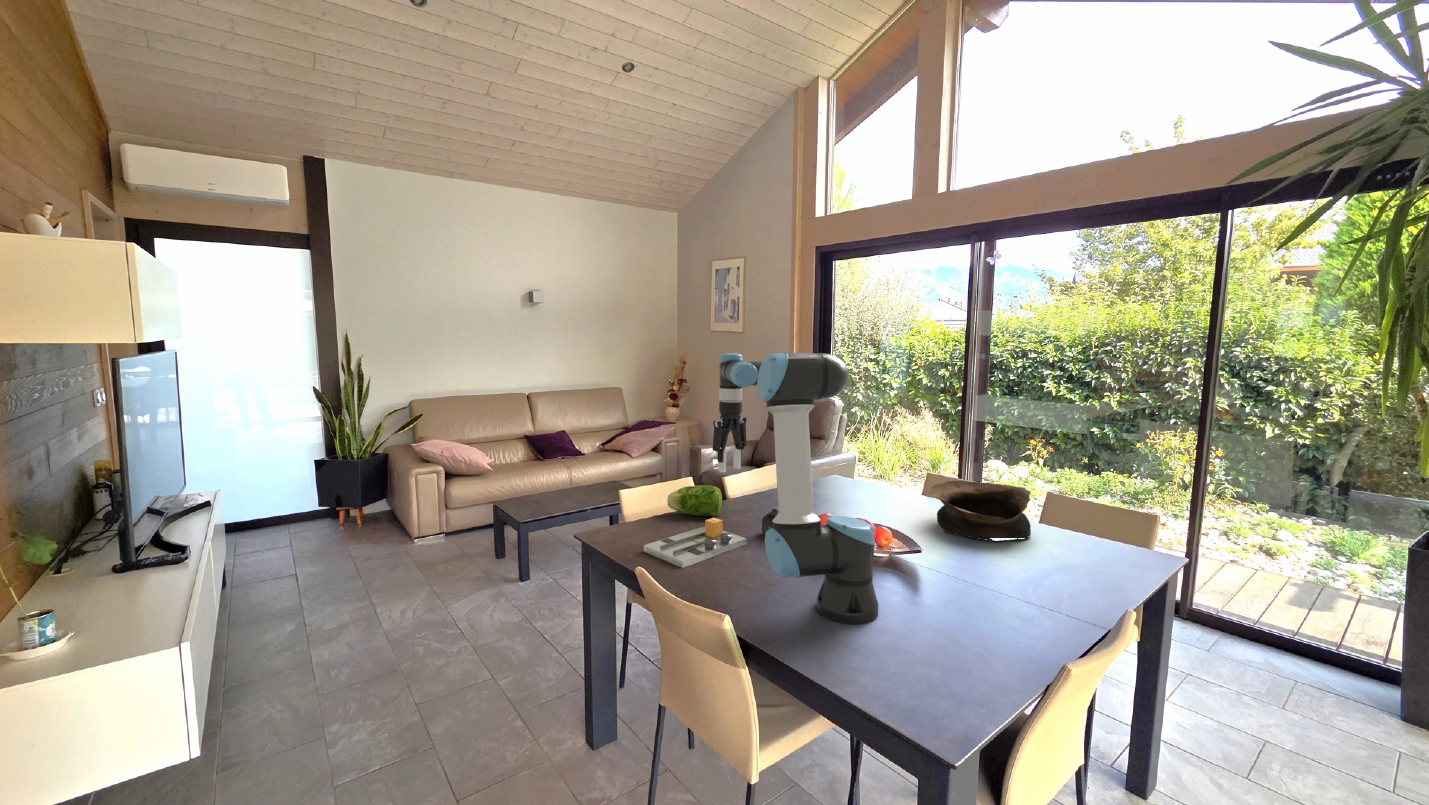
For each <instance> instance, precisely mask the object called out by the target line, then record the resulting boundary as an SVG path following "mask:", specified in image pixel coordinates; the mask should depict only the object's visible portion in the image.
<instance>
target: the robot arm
mask: <svg viewBox="0 0 1429 805" xmlns="http://www.w3.org/2000/svg"><path fill="white" fill-rule="evenodd" d="M718 367H719V380H718V382H719V391H718V392H719V393H718V395H719V396H718V398H719V400H720V401H719V403H718V412H719V413H720V417H719V419H718V420H713V421H712V422H713V423H712V424H713V439H712V440H713V441H712V451H714V452H716V453H717V455H716V456H717V459H716V460H717V464H718V469H717V471H718V472H720V473H726V472H727V470H726V469H727V452H725V450H726V445H727V442H728V437H729V434H730V433H731V434H732V440H733V444H734V447H735V448H733V450H732V451H733V454H732V455H733V456H732V459H733V460H732V465H733V466H732V468H733V469H737V470H741V466H742V465H741V463H742V460H741V459H742V455H743V454H742V453H743V450H745V447H747V429H746V428H747V420H748V419H747V417H744V416H741V414H742V412H743V402H742V400H743V388H744V387H745V388H748V387H752V386H755V387H756V390H757V393H758V398H759V400H760V401H763V402H765V403H766V410H768V412H770V413H771V414H772V415H773V418H772V419H773V434H774V435H773V436H774V452H775V454H774V455H775V471H776V474H775V475H776V494H777V495H776V496H777V507H778V515H777V516H776V517H775V518H774V519H773V529H769V530H768V531H767V532H766V534H764V535H765V537H764V547H765V548H764V549H765V554H766V556H767V560H768V563H769V565H770V567H771V569H772V570H773V572H774V573H775V574H776V575H777V576H778V577H780V578H783V579H789V578H791V579H792V578H794V579H799V578H802V577H812V576H822V575H824V578H823V582H822V584H821V586H820V589H819V591H818V594H817V596H816V610H817V612H818V613H819V614H820V615H822V616H823V617H825V618H827V619H829V620H831V621H834V622H836V623H837V622H838V623H843V624H850V625H851V624H852V625H856V624H857V625H858V624H859V623H861V624H866V623H870V622H872V621H874V620H875V619H877V618H878V617H879V616H878V615H879V608H880V607H879V602H878V598H877V595H876V591H875V587H874V584H873V574H874V559H875V558H874V555H875V554H874V553H875V545H876V540H875V538H876V537H875V530H874V527H873V525H871V524H870V523H869V522H867V521H865V520H862V519H860V518H855V517H852V516H845V515H830V516H827V517H826V518H827V519H826V520H825V523H826V524H822V520H821V518H820V517H819V516H818V515H817V514H816V513H815V508H814V491H813V473H812V472H813V470H812V457H811V456H812V453H811V436H810V420H809V419H810V418H809V413H810V412H811V411H812V410H813V409H814V408H815V400H827V399H831V398H834V397H836V396H838V395H839V394H841V392H842V391H843V390H844V389H845V387H846V386H847V384H848V382H849V381H848V380H849V370H848V367H847V365H846V363H845V362H844V361H843V360H842V359H840V358H839V357H837V356H836V355H833V354H830V353H824V352H823V353H822V352H817V353H816V352H814V353H813V352H779V353H770V354H768V355H767V356H766V357H764V359H763V360H762V361H755V360H754V361H752V360H751V361H747V360H746V361H745V360H744V357H743V354H742V353H733V352H732V353H730V352H729V353H727V352H726V353H725V352H724V353H721V354H720V357H719V364H718Z"/></svg>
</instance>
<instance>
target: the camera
mask: <svg viewBox="0 0 1429 805" xmlns="http://www.w3.org/2000/svg"><path fill="white" fill-rule="evenodd" d="M777 515H778V506H776V507H773V509H772V510H770V511H769V512H768V513H766V514H765V515H764V516H763V517H762V520H761V521H762V522H761V533H763V534H764V535H765V534H766V532H767V531H768V530H769V529H773V519H774V518H775V517H776V516H777Z"/></svg>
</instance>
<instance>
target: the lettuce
mask: <svg viewBox="0 0 1429 805" xmlns="http://www.w3.org/2000/svg"><path fill="white" fill-rule="evenodd" d="M666 503H667V506H668V507H669V508H670V509H671V510H674V511H677V512H678V513H681V514H684V515H689V516H697V517H712V518H715V517H716V516H718V515H719V514H720V513H721V511H722V506H723V495H722V491H721V489H720V488H719V487H717V486H715V485H710V484H709V485H708V484H707V485H704V484H703V485H687V486H684V487H681V488H679V489H677V490H674V491H672V492H670V494H668V495H667V500H666Z"/></svg>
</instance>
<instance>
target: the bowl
mask: <svg viewBox="0 0 1429 805" xmlns="http://www.w3.org/2000/svg"><path fill="white" fill-rule="evenodd" d="M929 494H930V495H932V496H933V498H935V499H938V500H939V501H940V502H941V503H942V506H941V507H940V508H939V509H938V510H937V513H936V522H937V524H938V526H939V528H941V529H942V530H943V531H945V532H948V533H950V532H951V533H950V534H954V533H956V534H957V535H959V534H960V536H964V535H965V537H968V536H970V537H969V538H972V537H973V538H972V539H976V538H980V539H979V540H982V539H987V540H986V541H989V540H992V539H990V538H1017V539H1018V538H1027V537H1028V536H1029V537H1030V536H1031V534H1032V530H1031V522H1030V520H1029V519H1028V516H1027V515H1026V514H1024V513H1023V512H1024V511H1025V510H1026V509H1027V508H1028V504H1029V502H1030V501H1031V499H1030V494H1031V491H1030V490H1027V489H1026V487H1022V486H1014V485H1009V484H1001V483H992V482H981V481H968V480H967V481H966V480H951V481H950V480H949V481H948V480H947V481H946V482H944V483H943V482H942V483H938V484H933V485H932V486H931V490H930V491H929ZM1029 537H1028V538H1029ZM1028 538H1027V539H1028Z"/></svg>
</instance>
